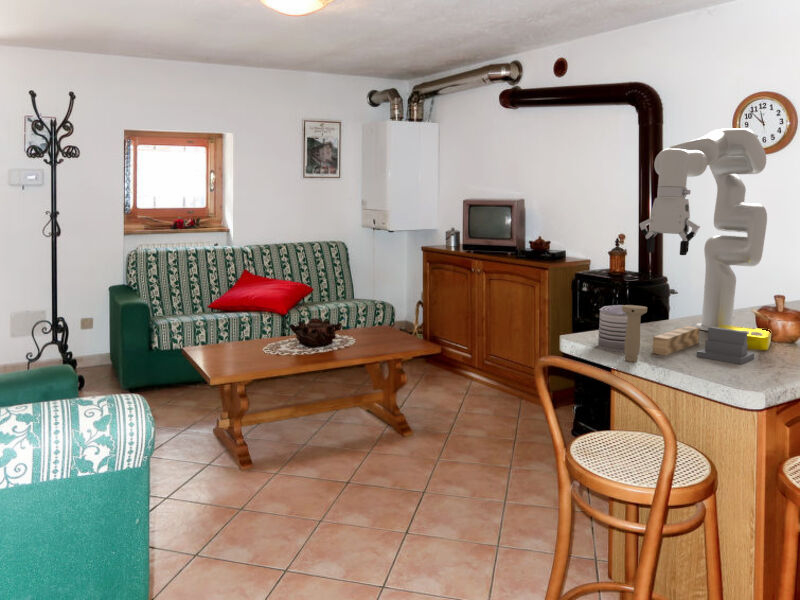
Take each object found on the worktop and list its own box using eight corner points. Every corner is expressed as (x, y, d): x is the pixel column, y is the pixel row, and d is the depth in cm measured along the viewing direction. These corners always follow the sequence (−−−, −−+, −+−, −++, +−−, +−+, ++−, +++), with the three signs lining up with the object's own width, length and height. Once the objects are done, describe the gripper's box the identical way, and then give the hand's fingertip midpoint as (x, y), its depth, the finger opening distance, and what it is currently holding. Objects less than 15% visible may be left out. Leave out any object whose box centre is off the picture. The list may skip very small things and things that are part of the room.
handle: (641, 364, 191) (645, 309, 189) (617, 361, 194) (620, 306, 192) (645, 360, 195) (648, 306, 193) (621, 357, 198) (624, 304, 196)
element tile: (770, 343, 223) (772, 328, 222) (767, 352, 210) (768, 336, 209) (718, 337, 230) (719, 322, 230) (712, 345, 218) (713, 330, 217)
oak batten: (685, 341, 222) (686, 325, 222) (698, 343, 220) (699, 327, 219) (652, 353, 205) (653, 336, 204) (665, 356, 202) (667, 339, 202)
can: (645, 351, 207) (648, 310, 205) (609, 352, 205) (611, 311, 203) (625, 342, 218) (627, 304, 216) (590, 343, 216) (593, 304, 214)
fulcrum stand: (710, 351, 208) (712, 324, 207) (754, 358, 200) (756, 330, 199) (696, 356, 201) (698, 328, 200) (740, 364, 193) (743, 335, 192)
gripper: (707, 194, 199) (702, 255, 202) (648, 193, 212) (644, 251, 214) (696, 193, 194) (690, 256, 197) (636, 192, 206) (632, 252, 209)
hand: (666, 253), depth 205 cm, fingers open, 9 cm apart
